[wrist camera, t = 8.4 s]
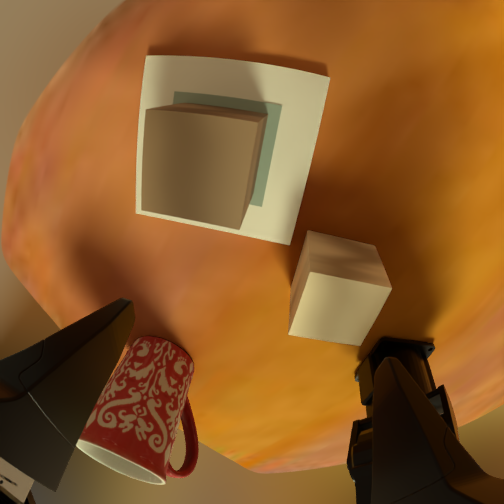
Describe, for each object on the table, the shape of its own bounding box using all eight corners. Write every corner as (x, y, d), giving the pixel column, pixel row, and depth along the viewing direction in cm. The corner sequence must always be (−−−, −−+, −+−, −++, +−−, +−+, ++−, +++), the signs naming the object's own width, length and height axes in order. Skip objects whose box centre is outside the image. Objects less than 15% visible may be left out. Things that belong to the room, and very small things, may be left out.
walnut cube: (268, 114, 15) (258, 122, 11) (253, 193, 18) (239, 230, 14) (184, 102, 15) (145, 109, 11) (176, 179, 18) (141, 210, 14)
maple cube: (374, 244, 20) (392, 288, 15) (351, 298, 22) (360, 346, 18) (307, 229, 20) (309, 271, 16) (290, 286, 22) (288, 334, 18)
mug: (110, 339, 30) (57, 436, 18) (160, 318, 26) (100, 443, 15) (182, 401, 34) (153, 490, 23) (238, 390, 31) (215, 499, 19)
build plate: (328, 78, 14) (330, 77, 14) (290, 239, 20) (289, 246, 19) (151, 56, 15) (145, 55, 14) (141, 208, 21) (135, 213, 20)
